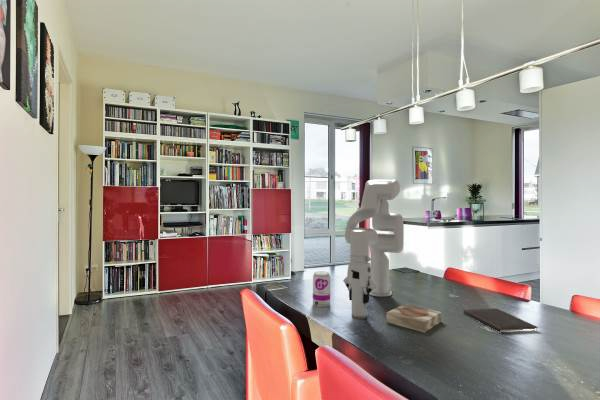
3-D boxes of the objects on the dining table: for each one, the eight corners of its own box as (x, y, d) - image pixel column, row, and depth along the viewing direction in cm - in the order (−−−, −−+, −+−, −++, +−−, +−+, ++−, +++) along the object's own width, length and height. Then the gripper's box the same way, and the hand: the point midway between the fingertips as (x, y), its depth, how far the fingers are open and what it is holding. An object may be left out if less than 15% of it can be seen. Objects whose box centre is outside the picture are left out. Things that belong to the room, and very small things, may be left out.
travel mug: (349, 314, 155) (349, 268, 155) (364, 313, 156) (364, 268, 155) (352, 319, 149) (352, 271, 149) (368, 318, 149) (368, 271, 149)
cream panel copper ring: (404, 312, 157) (404, 303, 157) (441, 321, 146) (441, 311, 146) (386, 322, 145) (386, 311, 145) (424, 332, 135) (424, 321, 135)
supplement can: (329, 308, 164) (329, 275, 164) (311, 306, 165) (311, 274, 165) (331, 302, 172) (331, 271, 171) (314, 301, 173) (314, 270, 173)
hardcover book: (496, 313, 159) (496, 308, 159) (537, 332, 137) (537, 326, 136) (463, 315, 157) (463, 309, 157) (499, 335, 134) (499, 328, 134)
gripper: (381, 260, 149) (381, 303, 149) (347, 255, 160) (347, 295, 161) (372, 262, 143) (372, 307, 143) (337, 257, 155) (337, 299, 155)
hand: (358, 300), depth 152 cm, fingers closed on travel mug, 6 cm apart
